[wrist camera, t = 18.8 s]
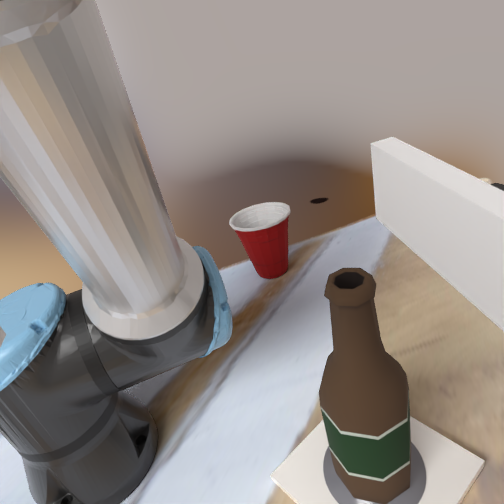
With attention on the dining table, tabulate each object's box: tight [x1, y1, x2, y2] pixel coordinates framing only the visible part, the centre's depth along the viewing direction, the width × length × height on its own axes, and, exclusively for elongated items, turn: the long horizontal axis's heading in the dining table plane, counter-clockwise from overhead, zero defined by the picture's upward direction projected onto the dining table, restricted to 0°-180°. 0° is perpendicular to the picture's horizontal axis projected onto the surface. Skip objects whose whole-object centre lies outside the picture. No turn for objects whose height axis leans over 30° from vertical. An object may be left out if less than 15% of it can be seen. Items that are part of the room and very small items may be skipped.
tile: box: [270, 416, 485, 504], centre depth 43 cm, size 15×15×1 cm
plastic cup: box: [229, 202, 290, 279], centre depth 75 cm, size 11×11×12 cm
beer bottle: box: [319, 268, 411, 504], centre depth 36 cm, size 8×8×24 cm
